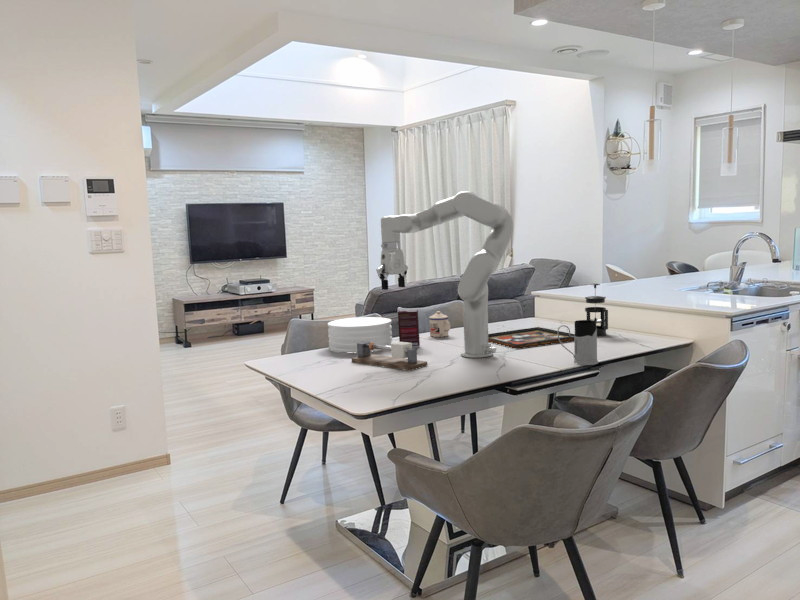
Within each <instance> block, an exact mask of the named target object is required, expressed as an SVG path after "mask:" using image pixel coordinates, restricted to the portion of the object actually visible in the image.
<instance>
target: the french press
mask: <svg viewBox="0 0 800 600" xmlns="http://www.w3.org/2000/svg"><path fill="white" fill-rule="evenodd" d="M590 286H593V288H594V295H590V296H585V297H584V299H585V303H587V304H594V306H589V307H585V308H584V312H585V313H586V320H593V321H596V324H600V325H596V327H597V337H605V336H607V330H609V310H608V309H607V308H606V307H602V306H597V304H602V303H605V301H606V298H607V297H606V296H601V295H596V291H597V286H601V284H599V283H591V284H590ZM591 313H594V318H592V319H591ZM597 313H600V319H599V318H597Z"/></svg>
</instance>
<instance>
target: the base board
mask: <svg viewBox="0 0 800 600" xmlns="http://www.w3.org/2000/svg"><path fill="white" fill-rule="evenodd" d="M351 362H352V363H355V362H357V363H356V364H362V363H364V364H363V365H369V364H371V365H370V366H375V365H377V367H382V366H384V367H383V368H389V367H390V368H391V369H395V368H397V369H398V370H402V369H405V370H404V371H409V370H411V371H413V370H412V369H414V370H417V369H420V368H419V367H421V368H423V367H422V366H424V367H427V366H428V361H426V360H419V359H417V363H414V364H408V358H396V357H392V356H388V355H381V354H374V353H371V356H368V357H364V358H361V357H358V356H355V357H351ZM426 365H427V366H426ZM416 368H417V369H416Z"/></svg>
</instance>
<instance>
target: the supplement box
mask: <svg viewBox="0 0 800 600" xmlns="http://www.w3.org/2000/svg"><path fill="white" fill-rule="evenodd" d="M397 319H398V321H397V322H398V336H399V338H398V342H408V343H412V348H416V349H417V348H418V347H419V348H420V346H421V344H420V343H421V342H420V341H421V340H420V328H419V327H420V325H419V324H420V323H419V310H418V309H415V310H414V309H413V310H412V309H411V310H398V312H397Z"/></svg>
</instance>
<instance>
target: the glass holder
mask: <svg viewBox="0 0 800 600" xmlns="http://www.w3.org/2000/svg"><path fill="white" fill-rule="evenodd" d="M596 326H597V323H596V321H593V320H587V319H583V320H582V319H578V320H575V321H574V334H575V335H574V336H571V335H570V333H571V330H570V327H569V326H568V325H565V324H564V325H563V324H562V325H560V326H558V328H557V330H556V331H557V334H558V331H560V328H562V327H564V328H567V330H568V333H569V335H570V336H571V337H574V341H573V342H574V345H573V346H574V349H573V351H574V353H573V352H572V351H571V350H570V349H568V348H567V347H566V346H565V345H564V344H563V343H561V341H560V339H559V334H558V339H559V341H560V343H559V344H560V345H561V346H562V348H564V349H565V350H567V351H568V352H569V353H570V354H572V355H573V359H574V360H573V362H574V363H573V362H572V363H573V364H575V363H577V364H576V365H578V364H582V365H581V366H594V365H598V364H599V360H598V336H597V327H596Z"/></svg>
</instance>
